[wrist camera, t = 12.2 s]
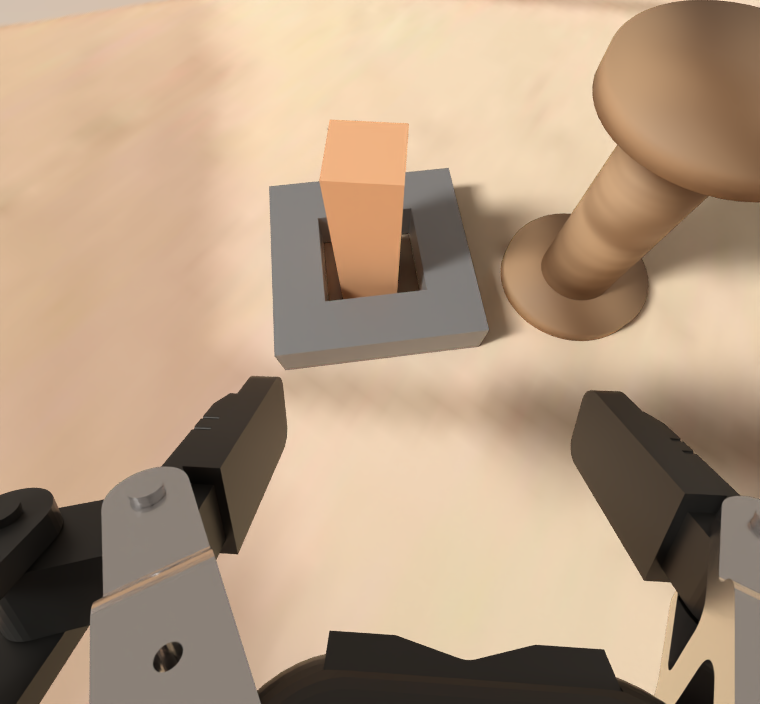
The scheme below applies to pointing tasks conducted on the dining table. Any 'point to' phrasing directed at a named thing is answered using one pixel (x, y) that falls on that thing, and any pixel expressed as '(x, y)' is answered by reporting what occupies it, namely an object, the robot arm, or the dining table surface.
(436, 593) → the dining table surface
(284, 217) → the block with square hole
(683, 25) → the bobbin
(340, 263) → the orange rectangular block
